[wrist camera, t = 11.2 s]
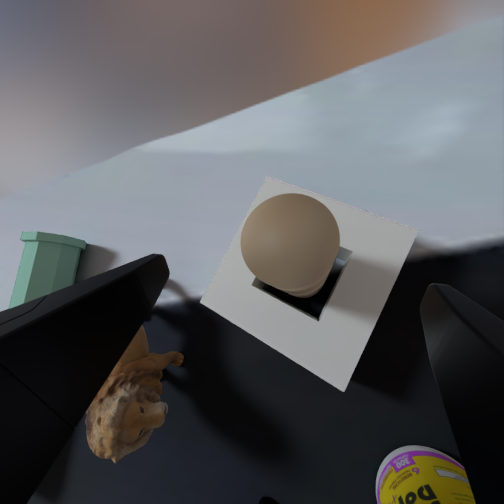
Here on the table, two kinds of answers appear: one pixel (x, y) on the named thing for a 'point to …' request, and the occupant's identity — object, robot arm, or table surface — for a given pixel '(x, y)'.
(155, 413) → the lion figurine
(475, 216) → the table surface
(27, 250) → the container
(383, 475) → the supplement bottle
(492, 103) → the table surface
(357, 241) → the socket
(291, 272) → the peg
